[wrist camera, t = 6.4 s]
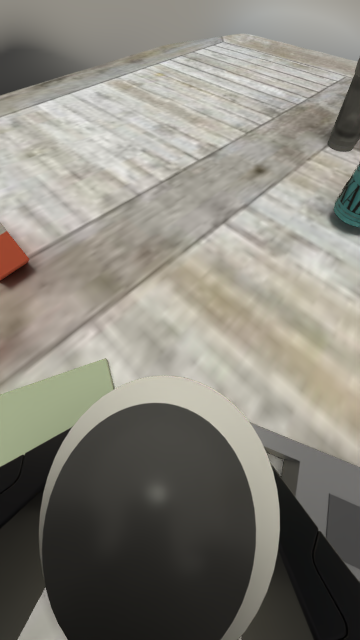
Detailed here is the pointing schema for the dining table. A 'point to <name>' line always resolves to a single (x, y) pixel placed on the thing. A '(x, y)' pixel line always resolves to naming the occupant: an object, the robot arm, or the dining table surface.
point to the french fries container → (10, 254)
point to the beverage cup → (348, 118)
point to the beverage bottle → (350, 201)
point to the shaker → (159, 517)
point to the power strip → (322, 492)
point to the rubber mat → (49, 407)
